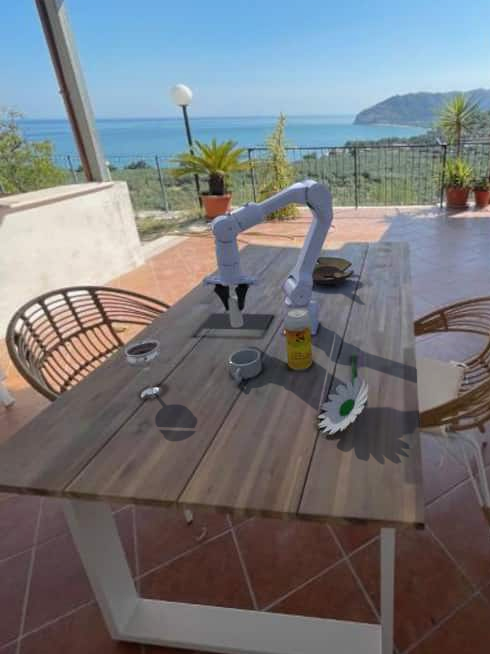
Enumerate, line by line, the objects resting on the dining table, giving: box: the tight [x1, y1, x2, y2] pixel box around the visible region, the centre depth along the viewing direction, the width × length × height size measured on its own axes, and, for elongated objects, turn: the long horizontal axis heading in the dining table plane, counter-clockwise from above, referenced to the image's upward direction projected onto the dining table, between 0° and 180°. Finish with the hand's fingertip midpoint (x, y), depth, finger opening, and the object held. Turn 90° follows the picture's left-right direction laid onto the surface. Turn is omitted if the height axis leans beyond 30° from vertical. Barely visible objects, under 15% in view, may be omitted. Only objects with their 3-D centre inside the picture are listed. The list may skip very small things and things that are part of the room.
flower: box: [317, 355, 370, 436], centre depth 88 cm, size 13×6×30 cm
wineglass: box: [124, 339, 162, 399], centre depth 87 cm, size 7×7×12 cm
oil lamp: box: [312, 256, 355, 286], centre depth 151 cm, size 22×30×8 cm
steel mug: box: [228, 348, 263, 386], centre depth 95 cm, size 10×7×4 cm
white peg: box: [228, 295, 243, 328], centre depth 107 cm, size 3×3×8 cm
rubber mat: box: [192, 313, 274, 338], centre depth 119 cm, size 20×14×1 cm
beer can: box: [283, 308, 313, 371], centre depth 97 cm, size 6×6×15 cm
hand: (235, 308), depth 106 cm, fingers closed on white peg, 3 cm apart
